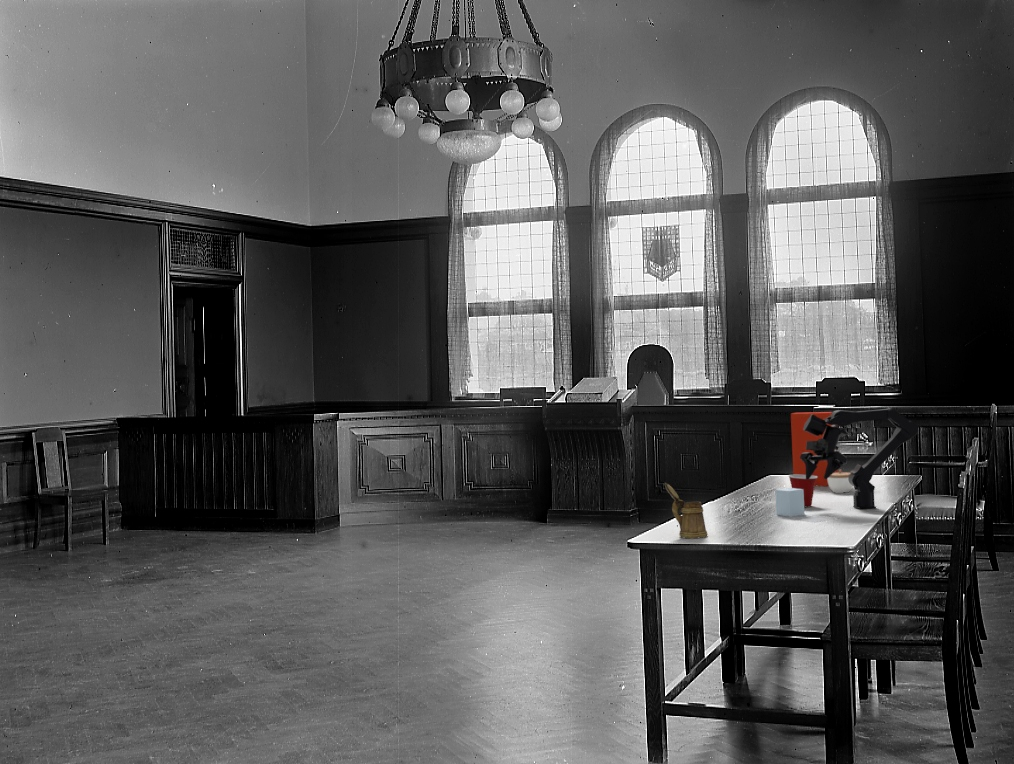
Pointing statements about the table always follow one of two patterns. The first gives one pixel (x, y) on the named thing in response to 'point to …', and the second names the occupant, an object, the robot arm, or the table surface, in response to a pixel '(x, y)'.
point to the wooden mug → (688, 516)
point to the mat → (814, 518)
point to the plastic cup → (804, 486)
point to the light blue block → (789, 502)
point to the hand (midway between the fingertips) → (815, 478)
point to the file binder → (800, 445)
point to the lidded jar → (839, 482)
